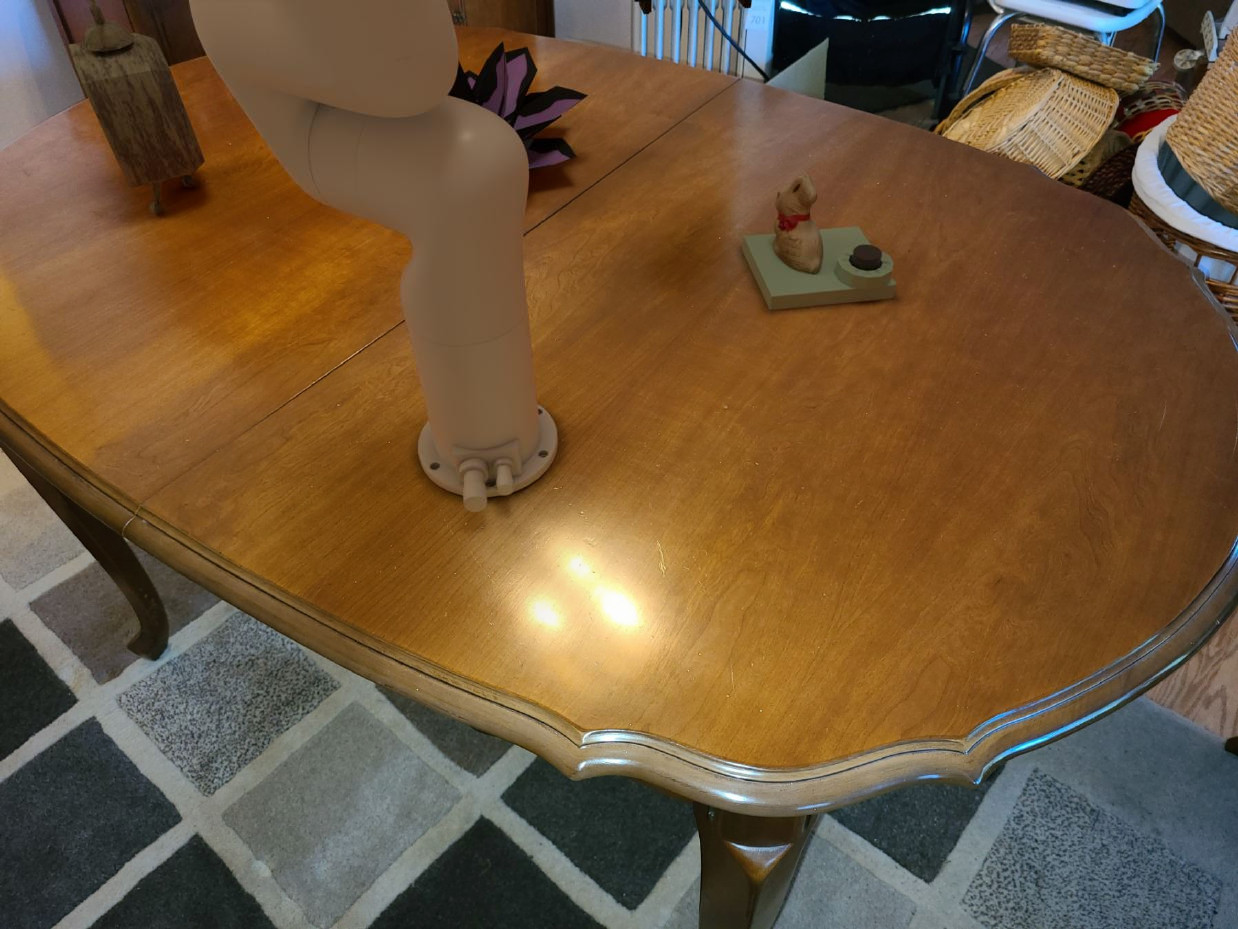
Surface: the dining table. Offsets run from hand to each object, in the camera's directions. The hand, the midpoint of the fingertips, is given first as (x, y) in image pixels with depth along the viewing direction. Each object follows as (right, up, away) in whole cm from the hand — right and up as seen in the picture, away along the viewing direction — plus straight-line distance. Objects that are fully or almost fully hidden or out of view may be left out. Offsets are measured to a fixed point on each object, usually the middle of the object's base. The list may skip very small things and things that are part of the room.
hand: (694, 6), depth 80 cm
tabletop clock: (-65, -9, +29) cm, 71 cm away
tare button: (+20, -22, +11) cm, 32 cm away
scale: (+15, -22, +15) cm, 31 cm away
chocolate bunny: (+13, -20, +15) cm, 28 cm away
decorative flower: (-28, -3, +34) cm, 44 cm away
